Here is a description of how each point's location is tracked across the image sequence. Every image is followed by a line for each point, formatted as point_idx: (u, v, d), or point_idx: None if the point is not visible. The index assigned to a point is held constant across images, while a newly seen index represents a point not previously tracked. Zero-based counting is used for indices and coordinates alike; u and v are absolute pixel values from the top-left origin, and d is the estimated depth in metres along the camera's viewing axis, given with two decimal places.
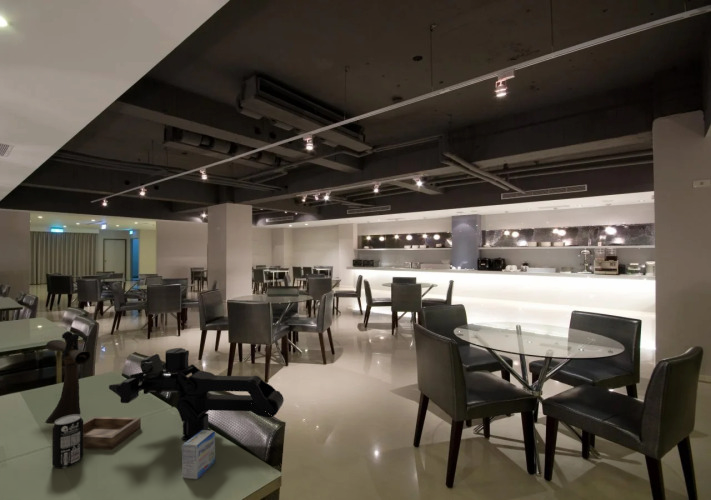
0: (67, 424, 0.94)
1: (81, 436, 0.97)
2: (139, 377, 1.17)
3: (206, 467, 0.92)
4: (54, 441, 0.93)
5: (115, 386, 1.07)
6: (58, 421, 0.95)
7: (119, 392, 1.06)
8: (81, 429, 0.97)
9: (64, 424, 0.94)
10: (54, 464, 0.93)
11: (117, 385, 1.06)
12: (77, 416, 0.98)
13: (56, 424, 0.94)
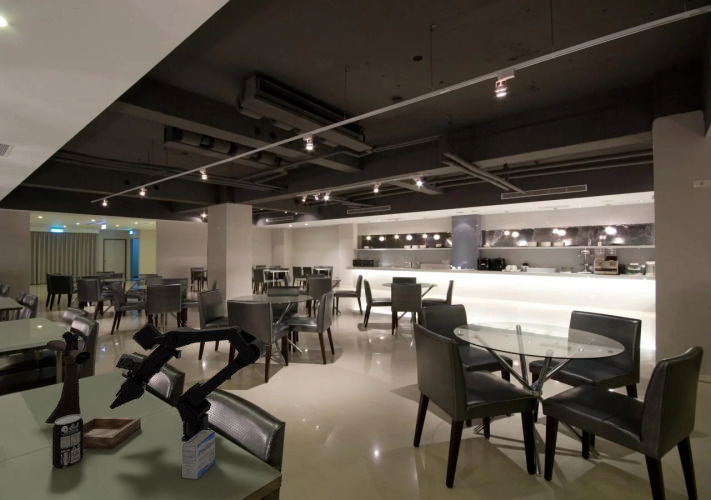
0: (67, 424, 0.94)
1: (81, 436, 0.97)
2: None
3: (206, 467, 0.92)
4: (54, 441, 0.93)
5: (116, 400, 1.01)
6: (58, 421, 0.95)
7: (126, 399, 1.02)
8: (81, 429, 0.97)
9: (64, 424, 0.94)
10: (54, 464, 0.93)
11: (118, 397, 1.01)
12: (77, 416, 0.98)
13: (56, 424, 0.94)
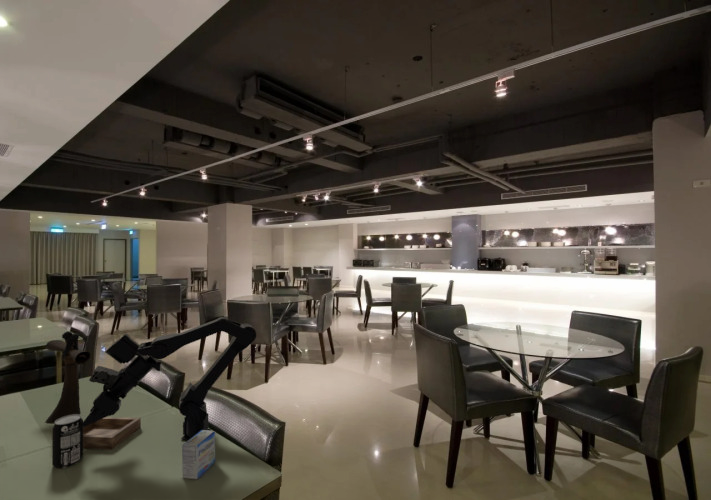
0: (67, 424, 0.94)
1: (81, 436, 0.97)
2: None
3: (206, 467, 0.92)
4: (54, 441, 0.93)
5: (89, 417, 0.94)
6: (58, 421, 0.95)
7: (99, 416, 0.95)
8: (81, 429, 0.97)
9: (64, 424, 0.94)
10: (54, 464, 0.93)
11: (90, 414, 0.94)
12: (77, 416, 0.98)
13: (56, 424, 0.94)
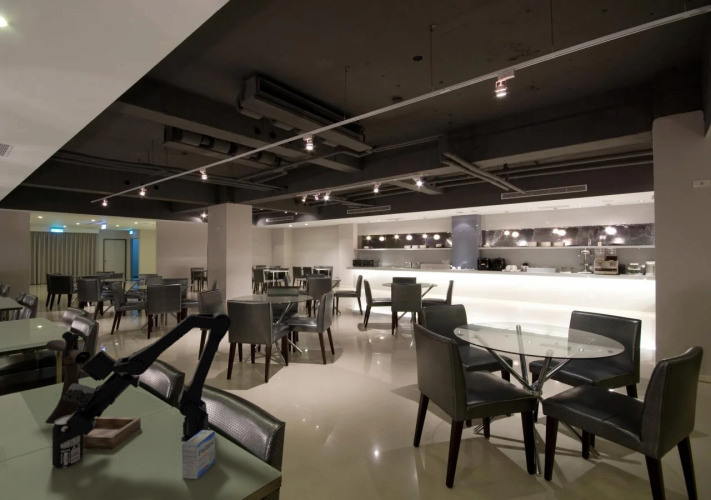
0: (67, 424, 0.94)
1: (81, 436, 0.97)
2: None
3: (206, 467, 0.92)
4: (54, 441, 0.93)
5: (64, 435, 0.93)
6: (58, 421, 0.95)
7: (74, 434, 0.93)
8: None
9: (64, 424, 0.94)
10: (54, 464, 0.93)
11: (65, 432, 0.92)
12: None
13: (56, 424, 0.94)
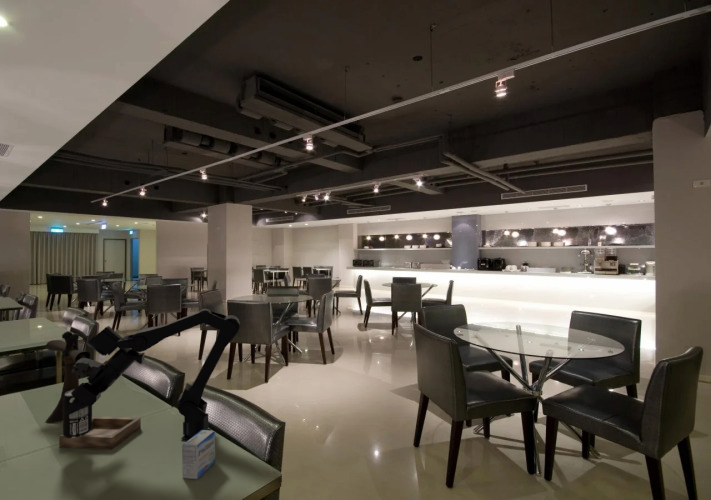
0: None
1: (89, 408, 1.00)
2: None
3: (206, 467, 0.92)
4: (64, 412, 0.97)
5: (71, 406, 0.96)
6: (68, 393, 1.00)
7: (81, 405, 0.96)
8: None
9: (72, 395, 0.98)
10: (64, 433, 0.97)
11: (72, 403, 0.96)
12: None
13: (65, 395, 0.98)
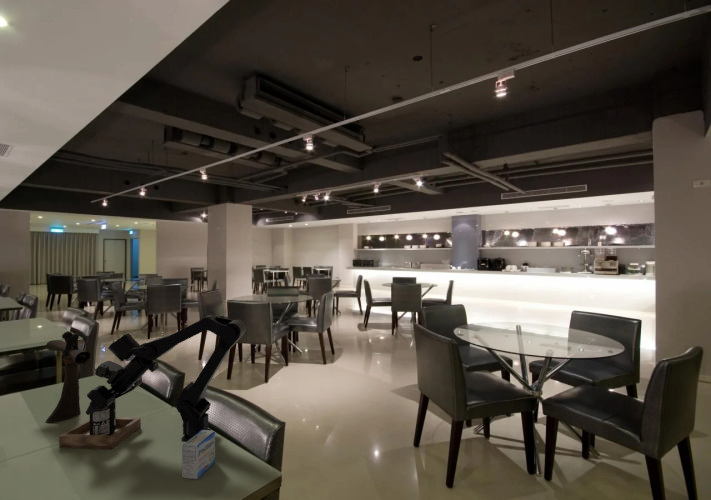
0: None
1: (111, 413, 1.08)
2: (115, 394, 1.14)
3: (206, 467, 0.92)
4: None
5: (90, 407, 1.04)
6: None
7: (96, 407, 1.03)
8: (111, 407, 1.08)
9: None
10: None
11: (90, 404, 1.04)
12: None
13: None
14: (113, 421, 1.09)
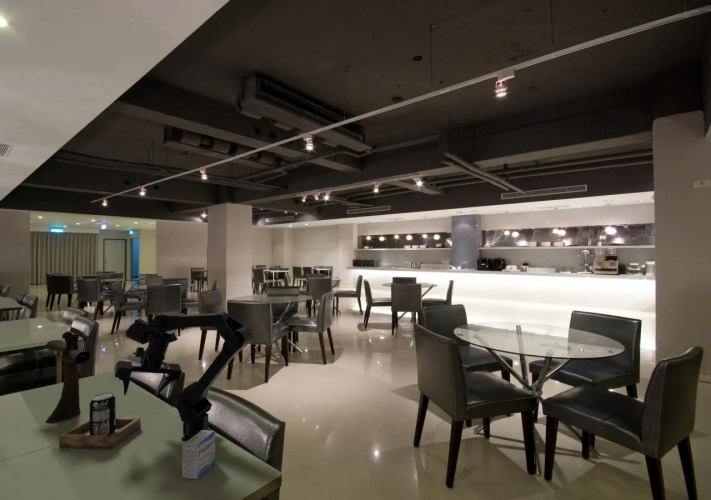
0: (98, 401, 1.07)
1: (111, 413, 1.09)
2: (159, 386, 1.15)
3: (206, 467, 0.92)
4: None
5: None
6: (95, 397, 1.09)
7: None
8: (111, 407, 1.09)
9: (96, 400, 1.07)
10: None
11: None
12: (111, 395, 1.11)
13: None
14: (113, 421, 1.09)
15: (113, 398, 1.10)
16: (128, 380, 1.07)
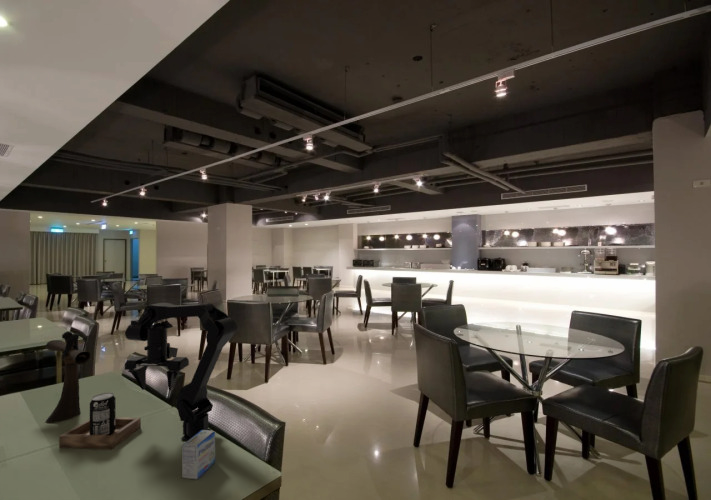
0: (98, 401, 1.07)
1: (111, 413, 1.09)
2: None
3: (206, 467, 0.92)
4: None
5: None
6: (95, 397, 1.09)
7: None
8: (111, 407, 1.09)
9: (96, 400, 1.07)
10: None
11: None
12: (111, 395, 1.11)
13: None
14: (113, 421, 1.09)
15: (113, 398, 1.10)
16: (135, 372, 1.12)
